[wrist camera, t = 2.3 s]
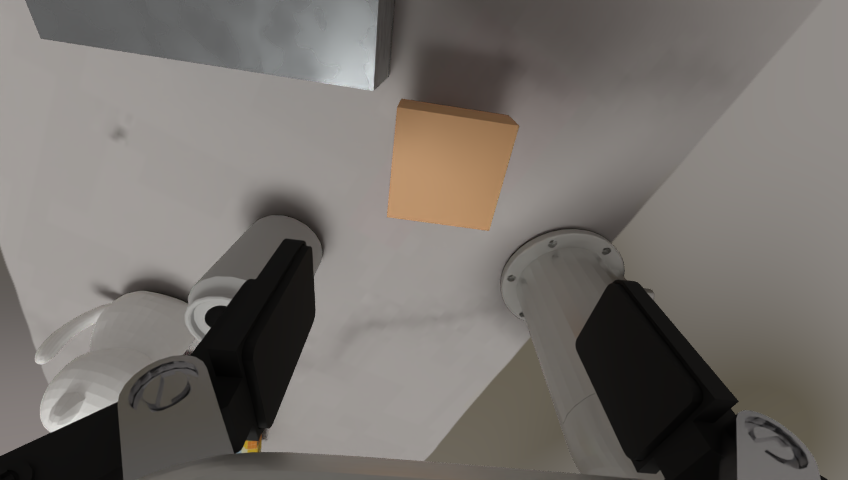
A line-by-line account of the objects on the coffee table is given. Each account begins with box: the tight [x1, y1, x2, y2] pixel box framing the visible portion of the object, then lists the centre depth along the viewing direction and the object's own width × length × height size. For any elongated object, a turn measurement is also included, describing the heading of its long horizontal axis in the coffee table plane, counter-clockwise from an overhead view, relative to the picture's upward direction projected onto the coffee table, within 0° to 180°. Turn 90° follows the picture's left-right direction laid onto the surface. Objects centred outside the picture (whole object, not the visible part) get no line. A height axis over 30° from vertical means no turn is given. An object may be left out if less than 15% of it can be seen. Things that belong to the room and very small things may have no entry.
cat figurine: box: [35, 291, 195, 432], centre depth 33 cm, size 9×12×15 cm
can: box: [184, 215, 322, 342], centre depth 29 cm, size 8×8×12 cm
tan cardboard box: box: [387, 99, 519, 231], centre depth 24 cm, size 7×7×9 cm
